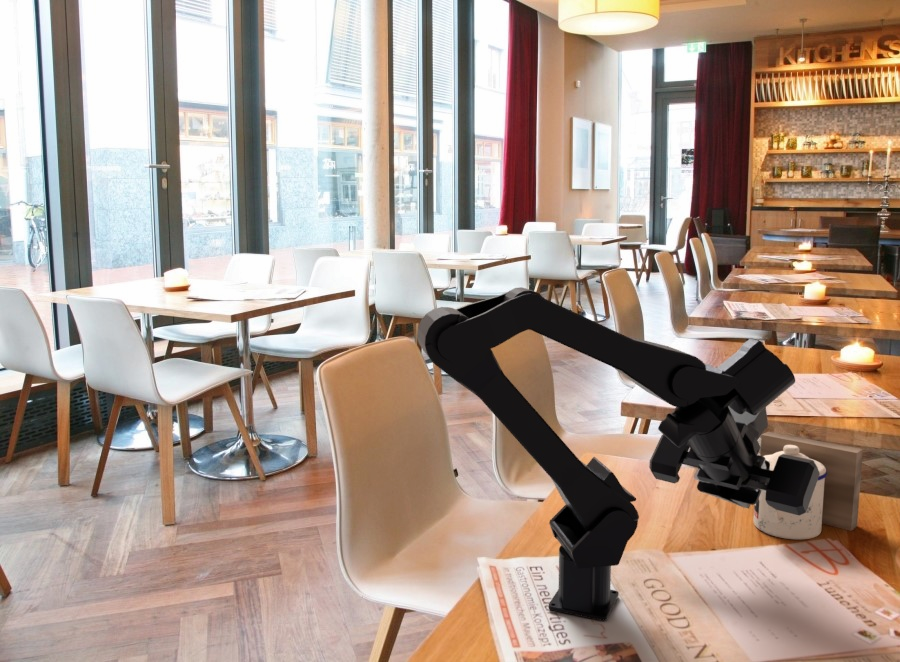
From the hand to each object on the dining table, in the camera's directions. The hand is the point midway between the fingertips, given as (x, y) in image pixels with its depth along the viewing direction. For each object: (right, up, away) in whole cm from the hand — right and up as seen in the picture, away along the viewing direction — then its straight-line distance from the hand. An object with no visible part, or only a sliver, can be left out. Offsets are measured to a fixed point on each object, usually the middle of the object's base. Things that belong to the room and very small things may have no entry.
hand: (747, 504), depth 100 cm
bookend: (+14, -5, +14) cm, 20 cm away
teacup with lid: (+8, -6, +9) cm, 14 cm away
